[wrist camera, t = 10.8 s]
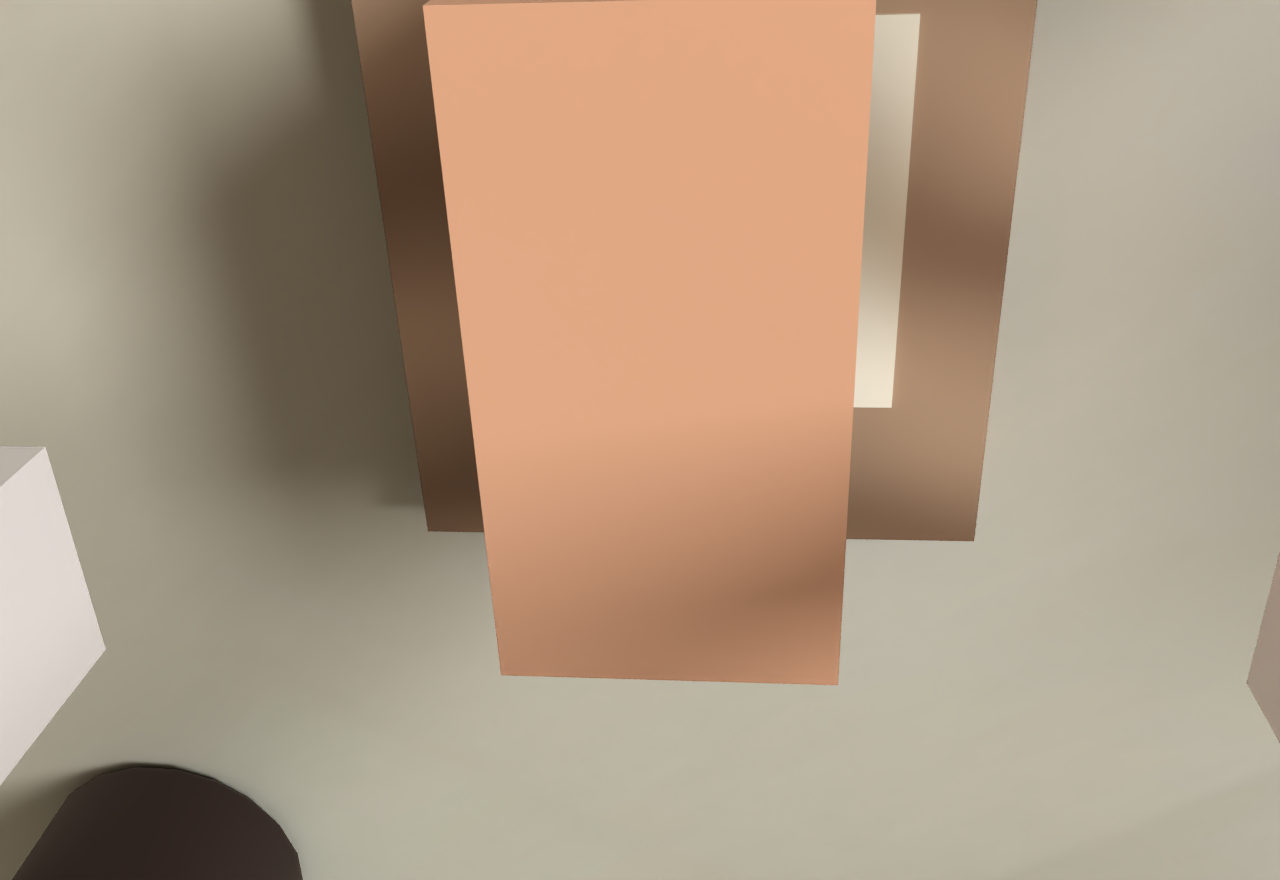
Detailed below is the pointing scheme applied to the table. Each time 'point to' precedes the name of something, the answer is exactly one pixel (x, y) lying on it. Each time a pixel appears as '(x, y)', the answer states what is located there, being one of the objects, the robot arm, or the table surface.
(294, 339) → the table surface
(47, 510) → the robot arm
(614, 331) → the block
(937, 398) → the pin board
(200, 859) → the bottle
